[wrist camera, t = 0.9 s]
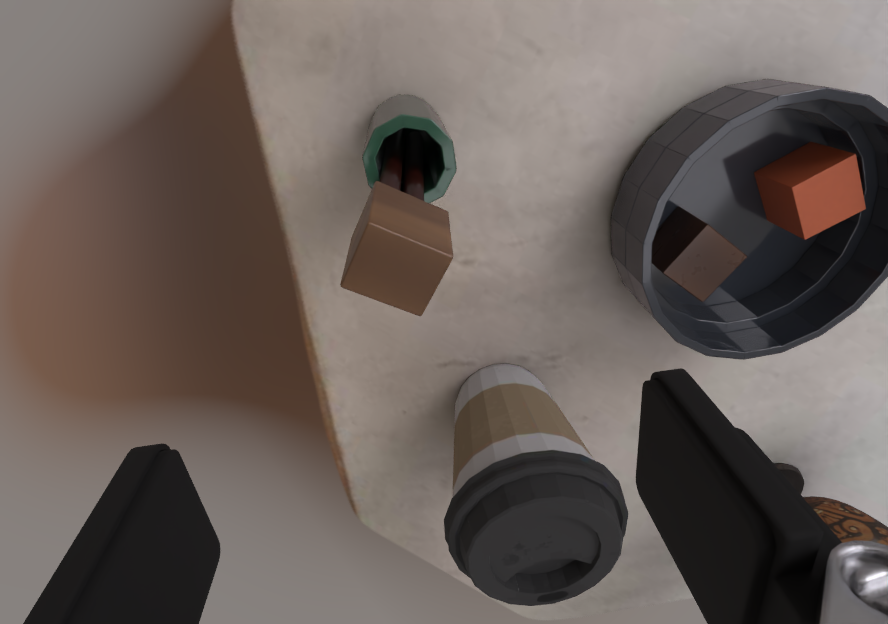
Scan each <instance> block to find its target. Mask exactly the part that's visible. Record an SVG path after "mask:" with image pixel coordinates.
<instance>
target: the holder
mask: <svg viewBox="0 0 888 624" xmlns="http://www.w3.org/2000/svg"><path fill="white" fill-rule="evenodd" d="M402 128H404V129H405V137H404V150H403V163H402V176H401V189H400V191H402V192H403V187H404V171H405V156H406V140H407V136H408V134H409V133H410V132H413V131H416V132H419V133H420V134H421V135H422V138H423V172H424V201H425V202H427V203H431V202H433V201H435V200H437V199H439V198H441V197H442V196H443V195H444V194H445V192H446V190H447V188H448V186H449V184H450V182H451V180H452V179H453V177H454V175H455V173H456V169H457V168H456V161H455V154H454V147H453V141H452V139H451V137H450V136H449V134H448V132H447V130H446V128H445V126H444V124H443V123H442V121H441V119H440V117H439V115H438V114H437V113H436V112H435V111H434V110H433V108H432V107H431V106H430V105H429V104H428V103H427V102H426V101H425V100H424V99H422V98H420V97H416V96H413V95H405V94H404V95H401V94H399V95H396V96H393V97H391V98H389V99H387V100H386V101H384V102H383V103H382V104H380V105H379V106H378V107H377V109H376V111H375V113H374V115H373V118H372V121H371V123H370V125H369V128H368V133H367V138H366V142H365V147H364V151H363V157H362V158H363V163H364V167H365V172H366V176H367V181H368V185H369V186H370V187H371V188H373V185H374V183H375V182H376V181H379V182H380V177H381V172H382V166H383V160H384V154H385V148H386V142H387V137H388V136H389V135H391V134H393V133H395V132H397V131H398V130H400V129H402Z"/></svg>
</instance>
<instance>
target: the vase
mask: <svg viewBox="0 0 888 624" xmlns="http://www.w3.org/2000/svg"><path fill="white" fill-rule="evenodd" d="M774 465H775V466H776V467H777V468H778V470H779V471H780V472H781V473H782V474H783V475H784V476H785V478H786V479H787V480H788V481H789V482H790V483H791V484H792V486H793V487H794V488H795V489H796V490H797V491H798V492H799V494H801V492H802V490H803V486H804V480H803V477H802V475H801V473H800V471H799V470H798V469H797V468H796V467H794V466H791V465H788V464H783V463H775V464H774ZM803 498H804V499H805V500H806V502H807V503H808V504H809V505H810V506H811V507H812V508H813V510H814V511H815V512H816V513H817V514H818V515H819V516H820V518H821V519H822V520H823V521H824V522H825V523H826V524H827V526H828V527H829V528H830V529H831V530H832V531H833V532H834V534H835V535H836V536H837V537H838V538H839V539H840V540H841V542H842V543H845V542H849V541H853V540H858V541H872V542H876V543H880V544H884V545H888V527H887V526H885V525H884V524H882V523H881V522H879V521H877V520H876V519H874V518H872V517H871V516H869V515H867V514H866V513H864V512H862V511H860V510H858V509H856V508H854V507H852V506H850V505H848V504H845V503H843V502H840V501H837V500H833V499H829V498H824V497H803Z"/></svg>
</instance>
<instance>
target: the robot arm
mask: <svg viewBox="0 0 888 624" xmlns="http://www.w3.org/2000/svg"><path fill="white" fill-rule="evenodd" d="M636 485H637V489H638V492H639V495H640V497H641V499H642V501H643V503H644V505H645V507H646V508H647V510H648V512H649V514H650V516H651V518H652V520H653V522H654V523H655V525H656V527H657V529H658V531H659V533H660V535H661V537H662V539H663V540H664V542H665V544H666V546H667V548H668V550H669V552H670V554H671V556H672V557H673V559H674V561H675V563H676V565H677V567H678V569H679V571H680V572H681V574H682V576H683V578H684V580H685V582H686V584H687V586H688V588H689V589H690V591H691V593H692V595H693V597H694V599H695V601H696V603H697V605H698V606H699V608H700V610H701V612H702V614H703V616H704V618H705V620H706V621H707V623H708V624H888V545H884V544H880V543H876V542H872V541H858V540H853V541H849V542H845V543H842V542H841V540H840V539H839V538H838V537H837V536H836V535H835V534H834V532H833V531H832V530H831V529H830V528H829V527H828V526H827V524H826V523H825V522H824V521H823V520H822V519H821V518H820V516H819V515H818V514H817V513H816V512H815V511H814V510H813V508H812V507H811V506H810V505H809V504H808V503H807V502H806V500H805V499H804V498H803V497H802V496H801V495H800V494H799V492H798V491H797V490H796V489H795V488H794V487H793V486H792V484H791V483H790V482H789V481H788V480H787V479H786V478H785V476H784V475H783V474H782V473H781V472H780V471H779V470H778V468H777V467H776V466H775V465H774V464H773V463H772V462H771V460H770V459H769V458H768V457H767V456H766V455H765V454H764V452H763V451H762V450H761V449H760V448H759V447H758V446H757V444H756V443H755V442H754V441H753V440H752V439H751V438H750V436H749V435H748V434H746V433H745V432H744V431H743V430H741V429H738V428H735V427H734V426H733V425H732V424H731V423H730V422H729V420H728V419H727V418H726V417H725V416H724V415H723V413H722V412H721V411H720V410H719V409H718V408H717V406H716V405H715V404H714V403H713V402H712V400H711V399H710V398H709V397H708V396H707V395H706V393H705V392H704V391H703V390H702V389H701V388H700V386H699V385H698V384H697V383H696V382H695V381H694V379H693V378H692V377H691V376H690V375H689V374H688V372H686V371H685V370H684V369H674V370H667V371H660V372H654V373H653V374H652V376H651V379H650V380H649V381H645V382H644V383H643V388H642V402H641V415H640V429H639V442H638V455H637V469H636ZM219 558H220V543H219V540H218V538H217V535H216V533H215V531H214V529H213V526H212V524H211V522H210V520H209V517H208V515H207V513H206V511H205V509H204V506H203V504H202V502H201V500H200V498H199V496H198V493H197V491H196V489H195V487H194V484H193V482H192V480H191V478H190V476H189V473H188V471H187V469H186V467H185V465H184V462H183V460H182V458H181V456H180V454H179V452H178V451H177V450H171V449H170V448H169V446H167V445H166V444H156V445H150V446H142V447H136V448H133V449H131V450H130V452H129V453H128V454H127V456H126V458H125V459H124V460H123V462H122V464H121V465H120V467H119V469H118V470H117V472H116V473H115V475H114V477H113V478H112V480H111V482H110V483H109V485H108V487H107V488H106V490H105V491H104V493H103V495H102V496H101V498H100V500H99V501H98V503H97V504H96V506H95V508H94V509H93V511H92V513H91V514H90V516H89V517H88V519H87V521H86V522H85V524H84V526H83V527H82V529H81V530H80V532H79V534H78V535H77V537H76V539H75V540H74V542H73V544H72V545H71V547H70V548H69V550H68V552H67V553H66V555H65V556H64V558H63V560H62V561H61V563H60V565H59V566H58V568H57V570H56V572H55V573H54V574H53V576H52V578H51V579H50V581H49V583H48V584H47V586H46V588H45V589H44V591H43V592H42V594H41V596H40V597H39V599H38V601H37V602H36V604H35V605H34V607H33V609H32V610H31V612H30V614H29V615H28V617H27V618H26V620H25V622H24V623H23V624H199V621H200V618H201V615H202V612H203V609H204V605H205V602H206V599H207V596H208V593H209V590H210V587H211V583H212V580H213V577H214V574H215V571H216V568H217V565H218V562H219Z"/></svg>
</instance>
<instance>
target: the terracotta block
mask: <svg viewBox="0 0 888 624" xmlns="http://www.w3.org/2000/svg"><path fill="white" fill-rule="evenodd" d="M754 175H755V178H756V182H757V185H758V189H759V193H760V196H761V200H762V203H763V207H764V210H765V214H766V217H767V220H768V221H769V222H771V223H773V224H775V225H777V226H779V227H781V228H783V229H785V230H787V231H789V232H791V233H793V234H794V235H796V236H798V237H800V238H802V239H804V240H806V239H808V238H810V237H812V236H814V235H816V234H818V233H820V232H821V231H823V230H825V229H827V228H829V227H831V226H833V225H835V224H837V223H839V222H841V221H843V220H845V219H847V218H849V217H851V216H853V215H855V214H857V213H859V212H861V211H863V210H865V209H866V206H865V201H864V195H863V190H862V184H861V179H860V174H859V168H858V163H857V157H856V154H854V153H851V152H847V151H843V150H840V149H836V148H832V147H829V146H825V145H822V144H818V143H814V142H809V143H807V144H806V145H804V146H802V147H800V148H798V149H796V150H794V151H793V152H791V153H789V154H787V155H785V156H783V157H781V158H780V159H778V160H776V161H774V162H772V163H770V164H768V165H767V166H765V167H763V168H761V169H759V170H757V171H756V172H754Z"/></svg>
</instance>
